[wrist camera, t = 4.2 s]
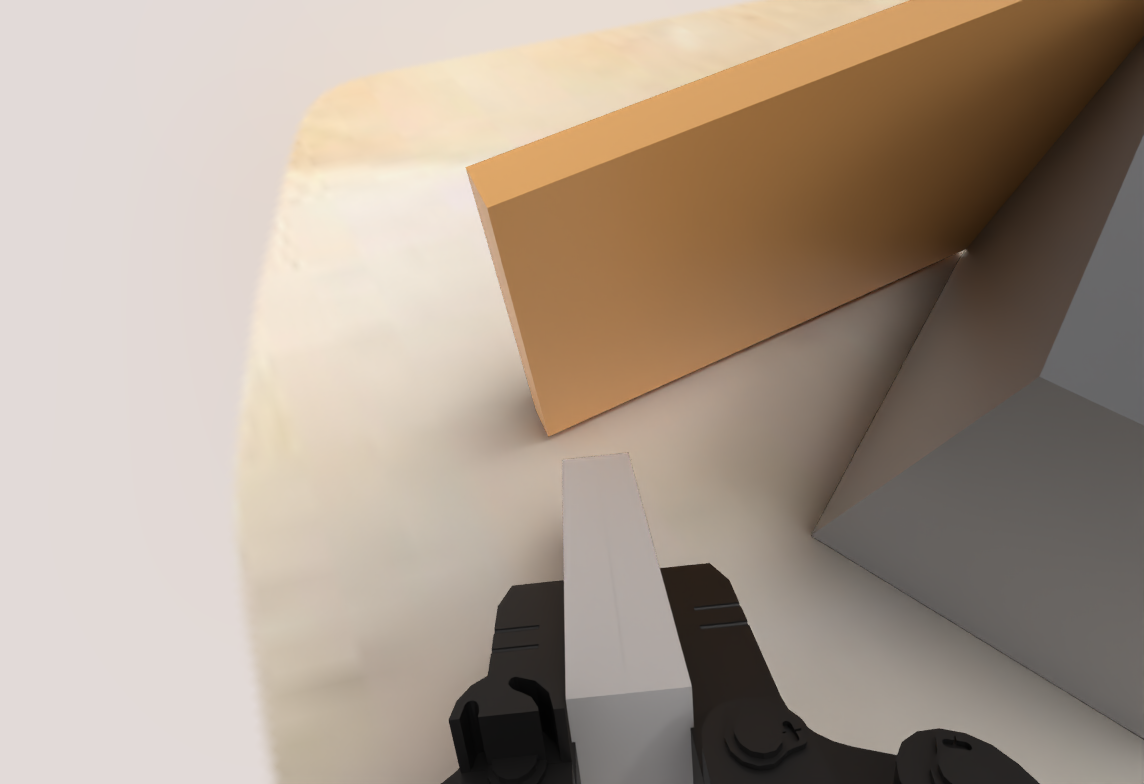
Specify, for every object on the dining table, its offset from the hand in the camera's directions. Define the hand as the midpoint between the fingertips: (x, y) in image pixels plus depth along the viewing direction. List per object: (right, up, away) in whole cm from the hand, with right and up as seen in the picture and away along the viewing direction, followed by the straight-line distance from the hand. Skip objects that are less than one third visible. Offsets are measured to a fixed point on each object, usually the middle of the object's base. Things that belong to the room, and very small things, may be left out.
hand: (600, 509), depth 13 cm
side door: (+5, +5, +6) cm, 10 cm away
